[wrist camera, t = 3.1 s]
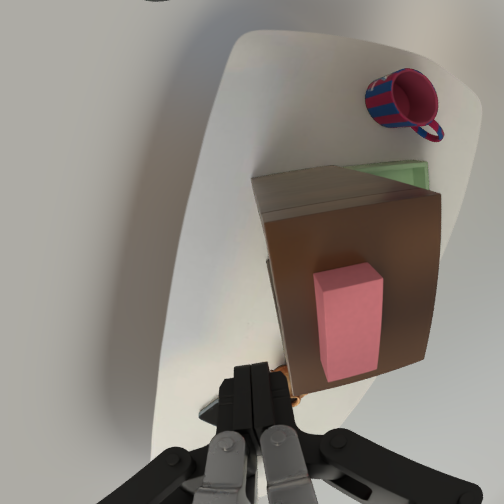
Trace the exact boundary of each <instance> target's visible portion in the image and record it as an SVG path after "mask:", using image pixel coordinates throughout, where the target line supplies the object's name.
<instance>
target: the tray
mask: <svg viewBox="0 0 504 504" xmlns="http://www.w3.org/2000/svg"><path fill="white" fill-rule="evenodd" d="M343 168H347V169H352V170H356V171H360V172H365V173H369V174H373V175H377V176H381V177H384V178H388V179H392V180H396V181H399V182H403V183H406V184H410V185H413V186H417V187H420V188H424V189H427V190H429V177H428V163H427V162H425V161H418V160H404V161H393V162H383V163H373V164H364V165H355V166H347V167H343Z"/></svg>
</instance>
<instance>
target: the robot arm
mask: <svg viewBox="0 0 504 504" xmlns="http://www.w3.org/2000/svg"><path fill="white" fill-rule="evenodd" d="M218 405H219V406H218V415H217V430H216V435H215V436H214V437H213V438H212V440H211V441H210V443H209V444H208V445H206V446H204V447H202V448H199V449H196V450H192V451H189V452H188V451H187V450H185V449H184V448H181V447H171V448H168V449H166V450H164V451H163V452H162V453H161V454H159V455H158V456H157V457H156V458H155V459H153V460H152V461H151V462H150V463H149V464H148V465H146V466H145V467H144V468H143V469H141V470H140V471H139V472H138V473H136V474H135V475H134V476H133V477H132V478H130V479H129V480H128V481H126V482H125V483H124V484H123V485H121V486H120V487H119V488H117V489H116V490H115V491H113V492H112V493H111V494H109V495H108V496H107V497H105V498H104V499H103V500H101V501H100V502H98V503H97V504H257V480H258V469H257V456H261V455H262V456H263V462H264V468H265V474H266V479H267V494H268V500H269V504H318V501H317V498H316V495H315V491H314V488H313V484H312V481H311V479H322V480H323V481H325V482H326V483H328V484H329V485H331V486H332V487H334V488H336V489H337V490H339V491H341V492H342V493H344V494H346V495H348V496H349V497H351V498H353V499H355V500H356V501H358V502H360V503H362V504H481V503H482V500H483V493H482V490H481V488H480V487H479V486H478V485H476V484H474V483H471V482H468V481H465V480H462V479H459V478H456V477H453V476H450V475H447V474H445V473H442V472H439V471H437V470H434V469H432V468H429V467H427V466H424V465H422V464H419V463H417V462H415V461H412V460H410V459H408V458H406V457H403V456H401V455H399V454H397V453H395V452H392V451H390V450H388V449H386V448H384V447H382V446H380V445H378V444H376V443H374V442H372V441H370V440H368V439H366V438H364V437H362V436H360V435H358V434H356V433H354V432H352V431H350V430H348V429H344V428H337V429H333V430H330V431H328V432H327V433H325V434H324V435H314V434H308V433H305V432H303V431H301V430H300V429H299V428H298V427H297V426H296V424H295V420H294V414H293V409H292V403H291V398H290V392H289V387H288V381H287V377H286V376H285V375H284V374H283V373H282V371H276V372H270V371H269V366H268V362H261V363H255V364H251V365H250V364H249V365H242V366H235V367H234V378H229V379H224V381H223V382H222V384H221V386H220V388H219V400H218Z"/></svg>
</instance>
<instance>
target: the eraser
mask: <svg viewBox="0 0 504 504" xmlns="http://www.w3.org/2000/svg"><path fill="white" fill-rule="evenodd" d="M313 276H314V286H315V296H316V307H317V318H318V331H319V344H320V360H321V363H322V366H323V369H324V372H325V375H326V378H327V381H328V382H332V381H336V380H340V379H344V378H348V377H351V376H355V375H359V374H362V373H366V372H369V371H372V370H376V369H377V365H378V356H379V346H380V335H381V321H382V303H383V277H382V276H381V275H380V274H379V273H378V272H377V271H376V270H375V269H374V268H373V267H372V266H371V265H370V264H369V263H368V262H366V263H361V264H356V265H352V266H347V267H342V268H337V269H333V270H328V271H323V272H318V273H314V274H313Z"/></svg>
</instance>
